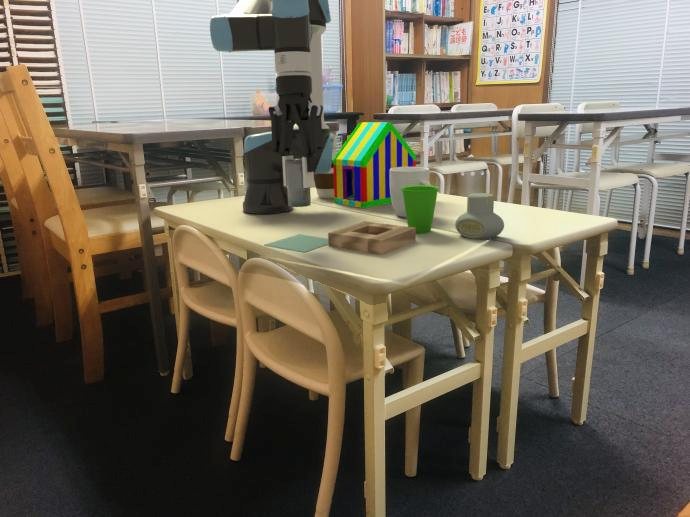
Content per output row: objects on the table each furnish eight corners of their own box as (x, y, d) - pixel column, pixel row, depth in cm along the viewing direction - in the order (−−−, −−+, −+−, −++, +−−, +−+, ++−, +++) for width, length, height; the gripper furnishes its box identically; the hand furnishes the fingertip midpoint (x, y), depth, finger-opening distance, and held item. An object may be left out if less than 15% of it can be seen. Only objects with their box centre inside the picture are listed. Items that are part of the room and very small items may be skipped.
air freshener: (449, 237, 128) (450, 195, 125) (467, 231, 134) (468, 190, 131) (492, 244, 121) (494, 199, 118) (509, 237, 127) (511, 194, 124)
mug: (446, 218, 149) (448, 169, 146) (416, 223, 143) (416, 173, 140) (411, 210, 161) (411, 165, 158) (381, 215, 155) (381, 168, 152)
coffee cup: (305, 197, 189) (303, 162, 186) (328, 193, 196) (327, 159, 193) (325, 200, 181) (324, 164, 178) (349, 196, 188) (348, 161, 185)
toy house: (364, 208, 167) (362, 123, 160) (334, 203, 177) (332, 123, 170) (415, 197, 183) (416, 120, 176) (385, 193, 192) (385, 120, 186)
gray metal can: (283, 205, 121) (281, 160, 118) (298, 202, 125) (296, 158, 122) (300, 207, 118) (298, 161, 116) (315, 204, 122) (313, 158, 119)
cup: (397, 229, 137) (397, 185, 134) (433, 228, 138) (434, 184, 135) (404, 238, 128) (404, 191, 125) (442, 236, 129) (443, 189, 126)
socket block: (328, 248, 121) (328, 232, 120) (364, 235, 132) (364, 221, 131) (381, 257, 113) (381, 240, 112) (415, 242, 124) (415, 227, 123)
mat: (264, 247, 123) (263, 244, 123) (299, 236, 132) (299, 234, 132) (304, 254, 116) (304, 251, 116) (338, 242, 125) (338, 240, 125)
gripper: (250, 76, 117) (257, 185, 123) (315, 71, 106) (319, 191, 112) (274, 77, 123) (280, 181, 129) (338, 73, 112) (341, 186, 118)
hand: (298, 186), depth 121 cm, fingers closed on gray metal can, 5 cm apart
